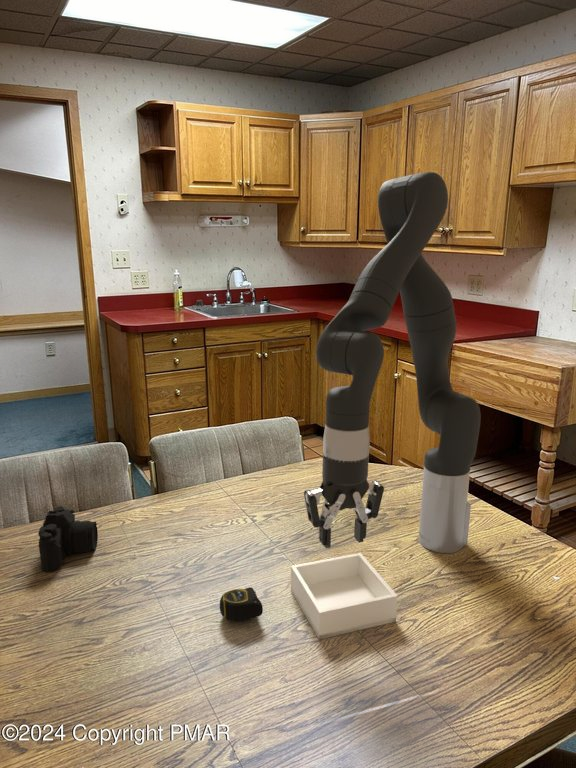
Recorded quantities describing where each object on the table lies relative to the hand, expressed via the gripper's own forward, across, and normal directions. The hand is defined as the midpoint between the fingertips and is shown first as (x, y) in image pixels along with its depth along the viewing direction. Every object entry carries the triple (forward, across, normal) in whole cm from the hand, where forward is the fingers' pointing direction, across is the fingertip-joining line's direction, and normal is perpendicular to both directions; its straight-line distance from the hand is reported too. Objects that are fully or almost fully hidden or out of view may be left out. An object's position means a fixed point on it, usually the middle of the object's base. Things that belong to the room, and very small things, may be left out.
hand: (342, 542), depth 97 cm
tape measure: (+12, +15, -1) cm, 19 cm away
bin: (+12, 0, 0) cm, 12 cm away
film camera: (+13, +46, -33) cm, 58 cm away
